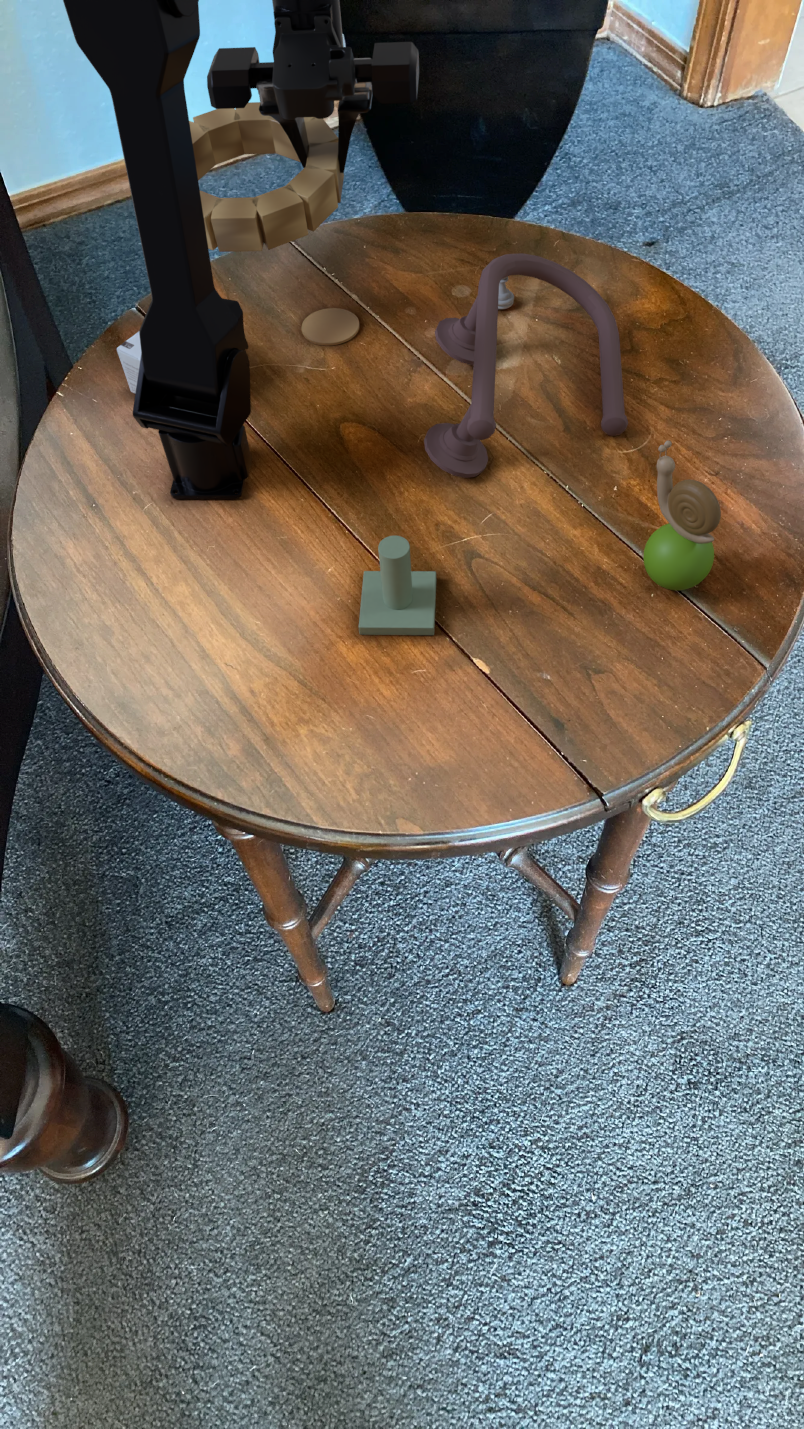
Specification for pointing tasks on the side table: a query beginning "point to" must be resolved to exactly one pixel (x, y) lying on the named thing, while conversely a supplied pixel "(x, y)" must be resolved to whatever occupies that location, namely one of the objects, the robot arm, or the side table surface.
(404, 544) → the peg stand
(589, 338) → the side table surface
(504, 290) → the pawn
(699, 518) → the snail figurine
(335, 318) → the cork coaster
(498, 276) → the toilet paper hanger
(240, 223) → the birch ring
